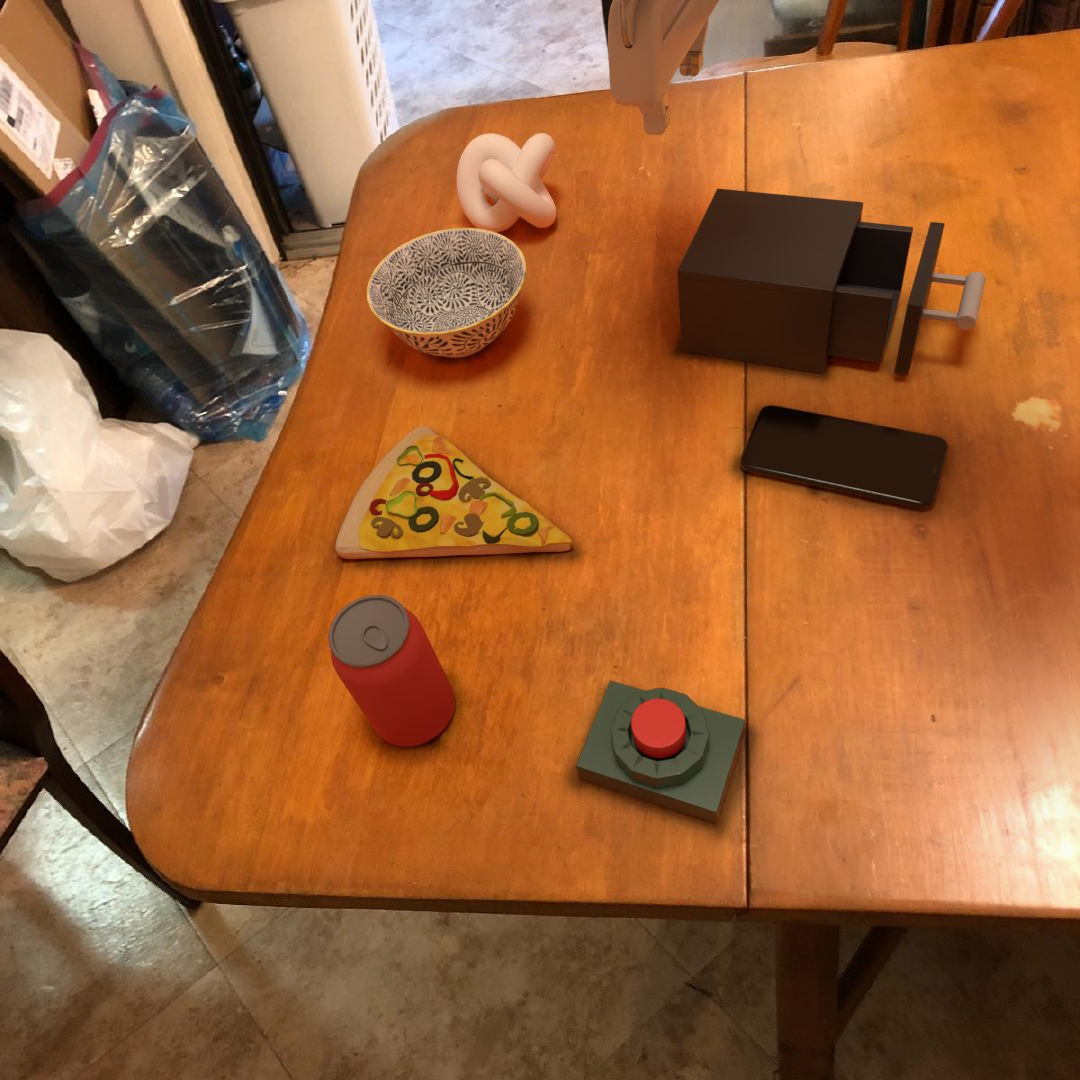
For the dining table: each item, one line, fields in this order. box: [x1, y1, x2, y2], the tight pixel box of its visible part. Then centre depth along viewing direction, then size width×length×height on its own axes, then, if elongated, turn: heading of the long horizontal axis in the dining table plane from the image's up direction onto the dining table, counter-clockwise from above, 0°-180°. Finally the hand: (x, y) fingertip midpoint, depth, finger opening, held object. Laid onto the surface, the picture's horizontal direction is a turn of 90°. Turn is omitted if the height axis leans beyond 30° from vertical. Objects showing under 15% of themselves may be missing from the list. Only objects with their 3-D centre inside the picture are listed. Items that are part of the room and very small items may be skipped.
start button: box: [631, 699, 686, 758], centre depth 63 cm, size 4×4×2 cm
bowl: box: [366, 227, 527, 359], centre depth 94 cm, size 16×16×8 cm
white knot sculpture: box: [456, 132, 557, 233], centre depth 105 cm, size 11×12×9 cm
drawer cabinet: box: [676, 188, 864, 375], centre depth 88 cm, size 14×13×10 cm
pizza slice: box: [334, 425, 573, 560], centre depth 81 cm, size 16×21×3 cm
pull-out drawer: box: [827, 221, 987, 376], centre depth 85 cm, size 17×11×8 cm
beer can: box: [327, 594, 456, 747], centre depth 67 cm, size 7×7×12 cm
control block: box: [575, 680, 746, 825], centre depth 65 cm, size 10×7×4 cm
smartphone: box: [739, 404, 949, 509], centre depth 80 cm, size 8×1×16 cm
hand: (674, 100), depth 81 cm, fingers open, 8 cm apart
